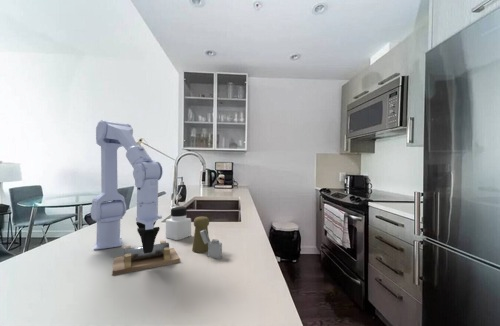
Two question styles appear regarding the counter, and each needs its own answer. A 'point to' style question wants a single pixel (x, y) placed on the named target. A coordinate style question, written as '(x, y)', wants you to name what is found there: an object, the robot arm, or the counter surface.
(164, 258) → the stand
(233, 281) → the counter surface
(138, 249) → the tube
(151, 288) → the counter surface
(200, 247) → the cork
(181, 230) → the medicine bottle
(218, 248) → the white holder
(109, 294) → the counter surface
